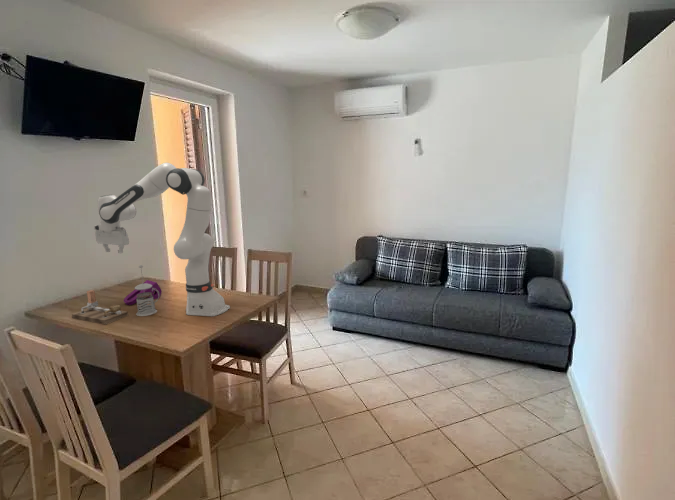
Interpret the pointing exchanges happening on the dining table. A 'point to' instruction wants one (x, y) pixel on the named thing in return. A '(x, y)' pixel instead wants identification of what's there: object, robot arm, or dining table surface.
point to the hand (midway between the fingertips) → (114, 252)
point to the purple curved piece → (132, 296)
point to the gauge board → (101, 314)
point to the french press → (145, 308)
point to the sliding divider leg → (91, 300)
